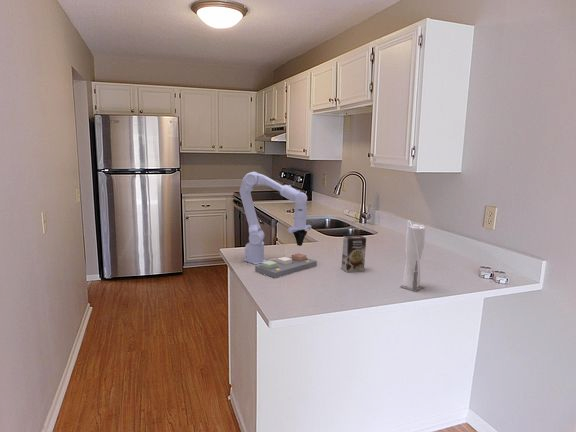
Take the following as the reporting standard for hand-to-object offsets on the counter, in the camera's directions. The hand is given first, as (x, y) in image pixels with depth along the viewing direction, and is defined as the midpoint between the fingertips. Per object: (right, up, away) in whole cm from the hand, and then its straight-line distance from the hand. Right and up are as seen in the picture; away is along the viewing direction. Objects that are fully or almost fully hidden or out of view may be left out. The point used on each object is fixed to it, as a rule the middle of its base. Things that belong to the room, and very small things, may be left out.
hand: (299, 245), depth 195 cm
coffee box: (+25, -11, -6) cm, 28 cm away
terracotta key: (0, -8, +1) cm, 8 cm away
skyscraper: (+46, -16, -27) cm, 55 cm away
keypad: (-6, -10, -7) cm, 14 cm away
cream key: (-7, -9, -6) cm, 13 cm away
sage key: (-14, -10, -13) cm, 21 cm away
